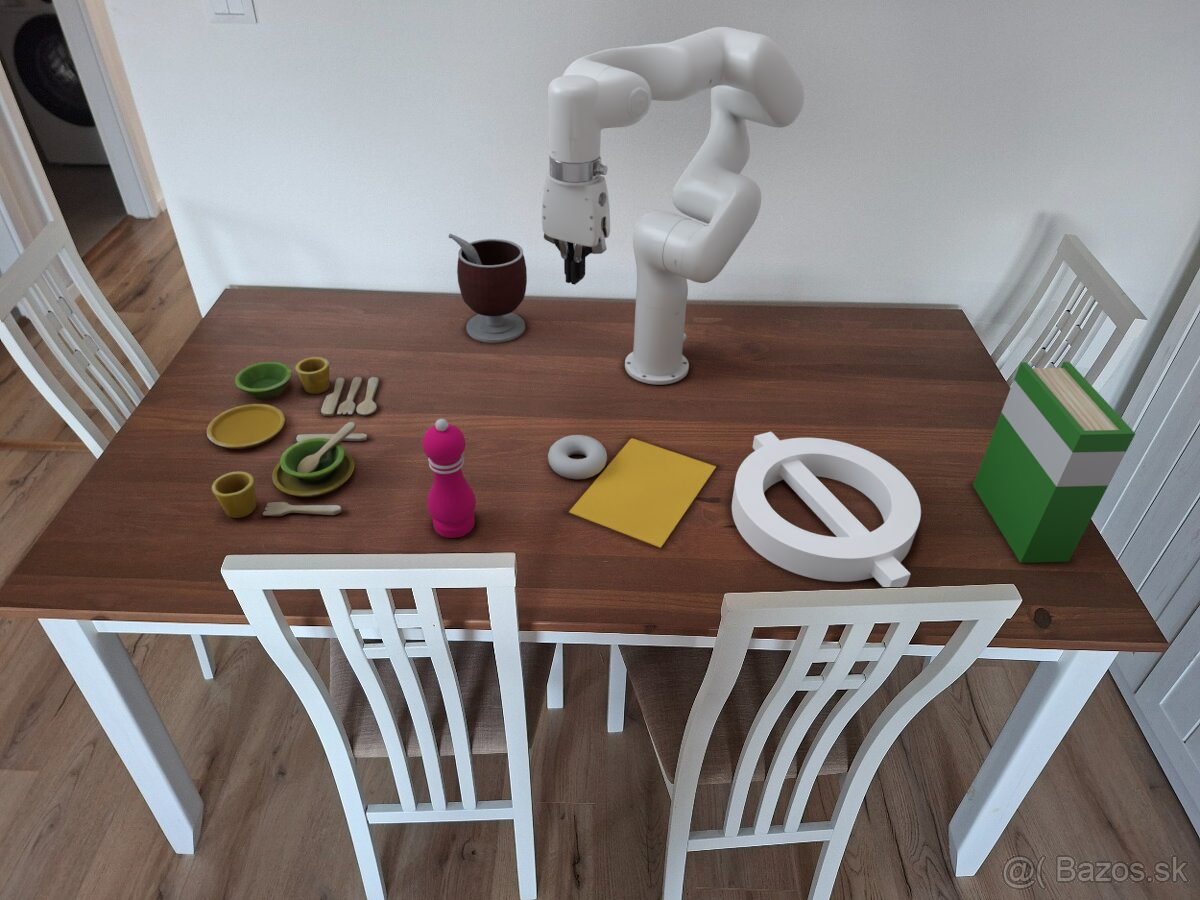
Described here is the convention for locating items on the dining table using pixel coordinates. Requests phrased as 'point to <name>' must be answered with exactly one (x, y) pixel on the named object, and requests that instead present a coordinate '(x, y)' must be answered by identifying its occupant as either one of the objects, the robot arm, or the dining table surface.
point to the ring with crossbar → (826, 510)
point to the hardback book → (1050, 461)
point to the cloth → (644, 492)
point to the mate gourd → (492, 287)
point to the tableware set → (306, 463)
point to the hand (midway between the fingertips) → (574, 280)
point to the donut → (577, 467)
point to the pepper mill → (448, 481)
